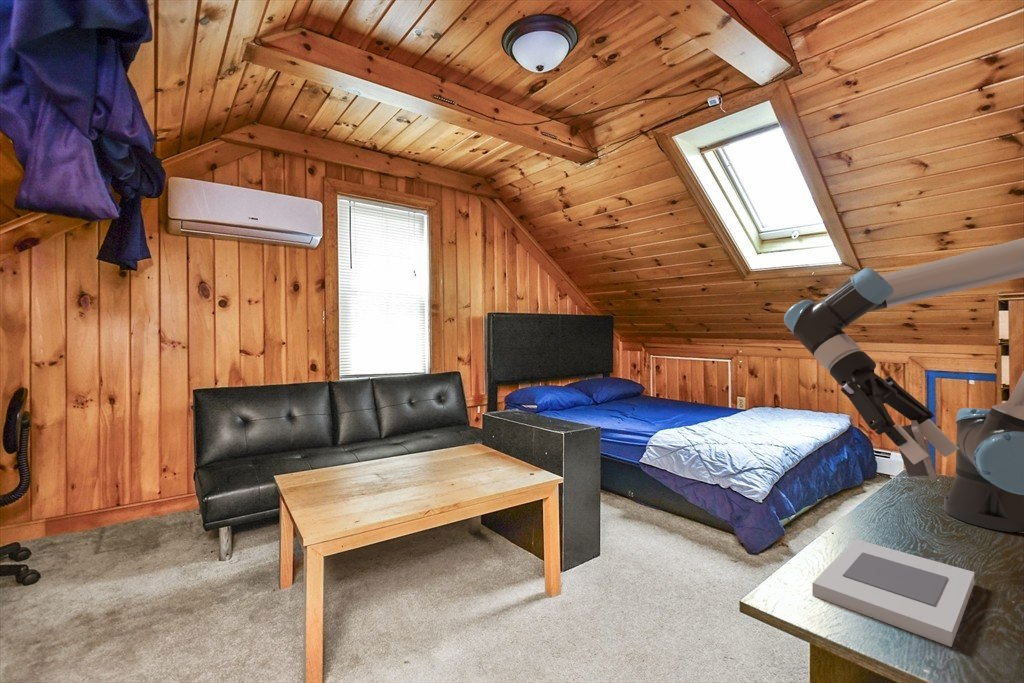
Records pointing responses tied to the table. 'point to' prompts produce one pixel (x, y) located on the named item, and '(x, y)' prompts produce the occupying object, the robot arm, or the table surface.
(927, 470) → the electrical switch
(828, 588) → the mounting board
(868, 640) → the table surface
